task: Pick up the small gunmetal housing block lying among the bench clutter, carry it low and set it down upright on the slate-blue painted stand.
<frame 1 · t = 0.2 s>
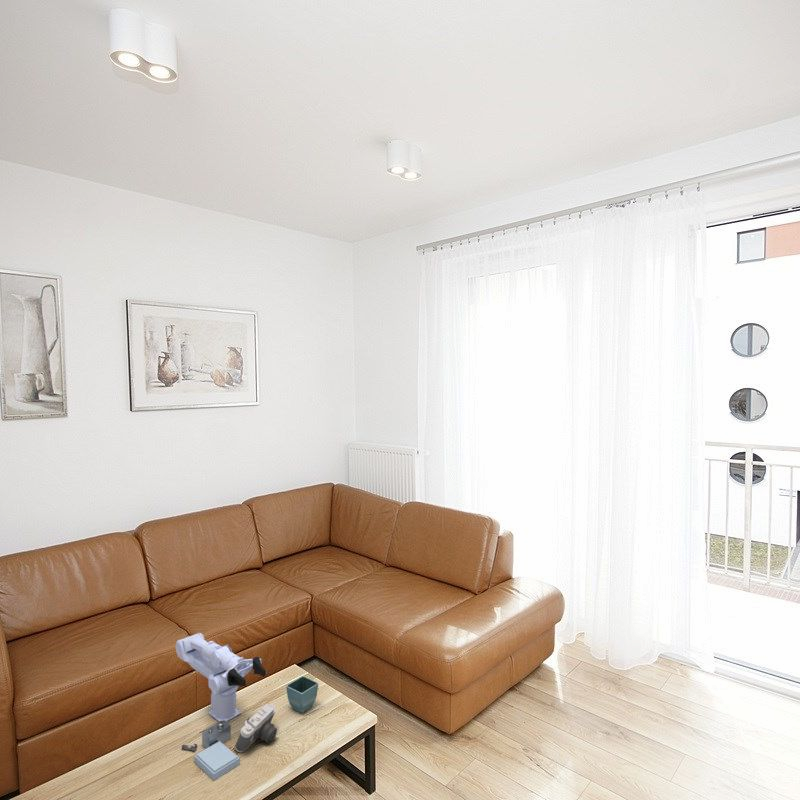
hand: (254, 678, 174), 21 cm above the table, tool horizontal, fingers open, 7 cm apart
stand: (216, 763, 163), on the table
bolt a: (188, 749, 169), on the table
camera: (260, 741, 174), on the table
housing: (216, 742, 173), on the table
flower pot: (302, 708, 192), on the table
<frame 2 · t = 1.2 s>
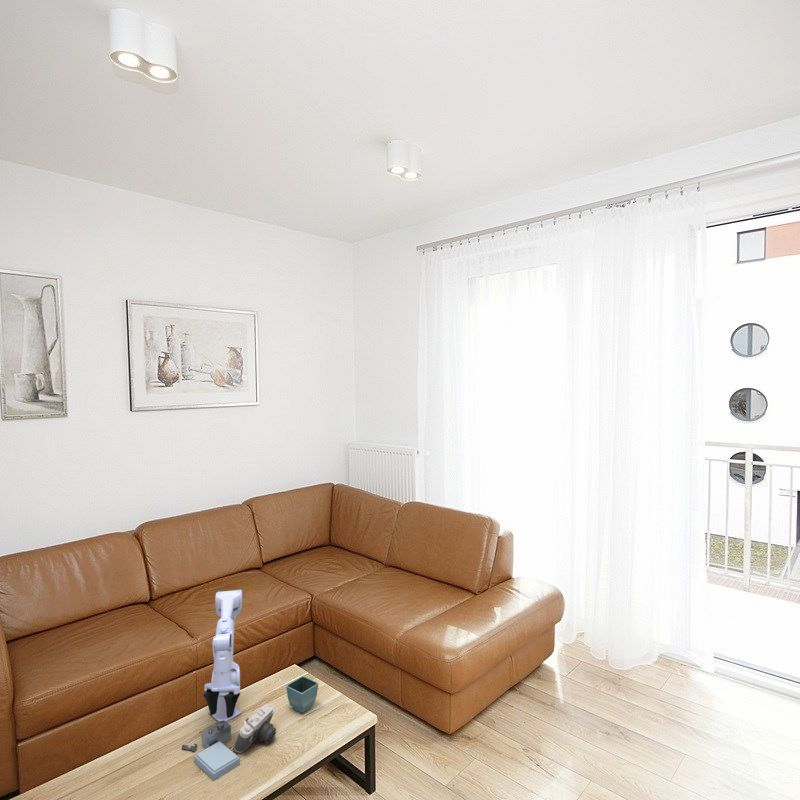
hand: (221, 715, 171), 10 cm above the table, tool pointing down, fingers open, 7 cm apart
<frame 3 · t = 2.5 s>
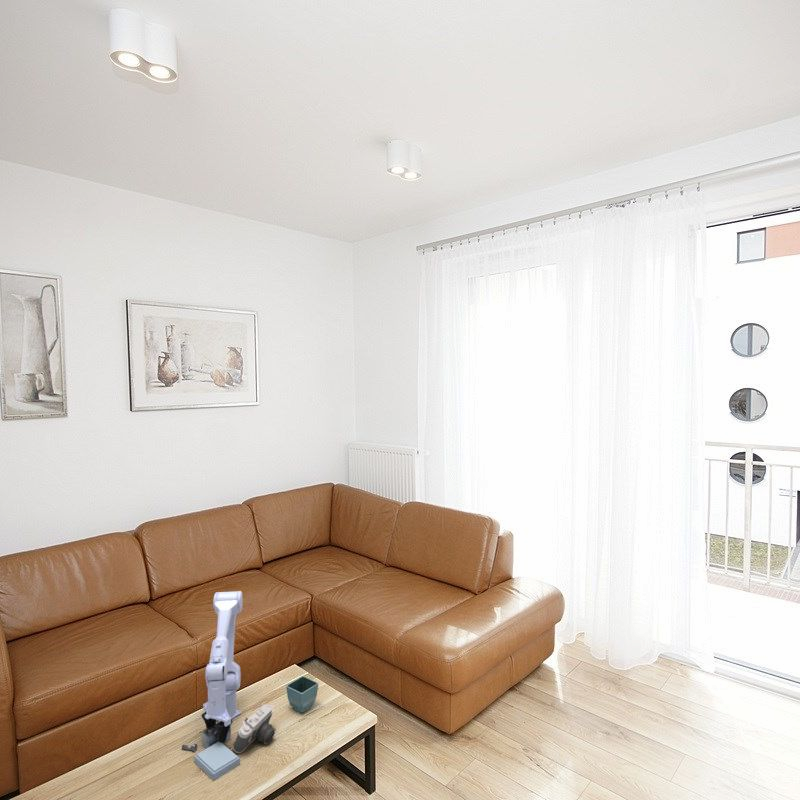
hand: (216, 737, 172), 2 cm above the table, tool pointing down, fingers open, 6 cm apart
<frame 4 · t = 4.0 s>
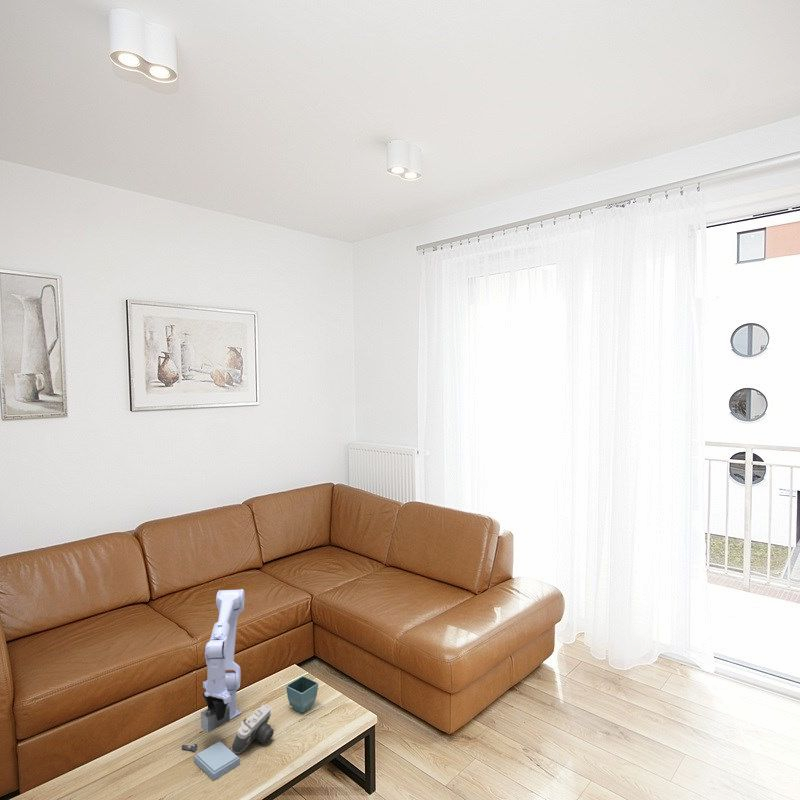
hand: (216, 715, 172), 9 cm above the table, tool pointing down, fingers closed on housing, 4 cm apart
housing: (215, 724, 172), point 7 cm above the table, touching gripper
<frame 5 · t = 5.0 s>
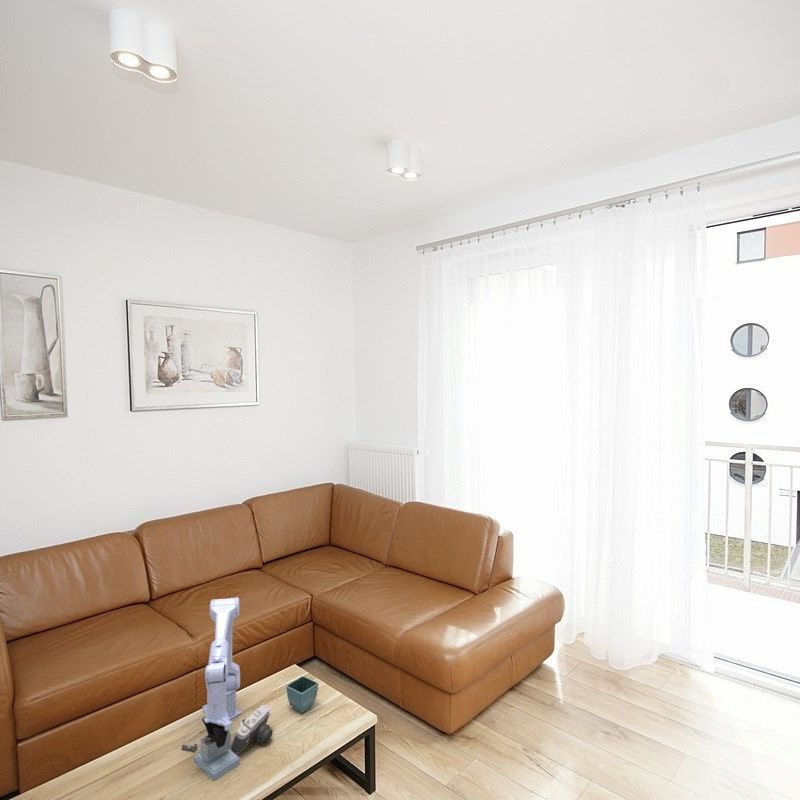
hand: (216, 742, 163), 7 cm above the table, tool pointing down, fingers closed on housing, 4 cm apart
housing: (215, 751, 163), point 4 cm above the table, touching gripper
when the fingers open (5 cm above the table, at t = 5.7 s): housing stays where it is, resting on stand.
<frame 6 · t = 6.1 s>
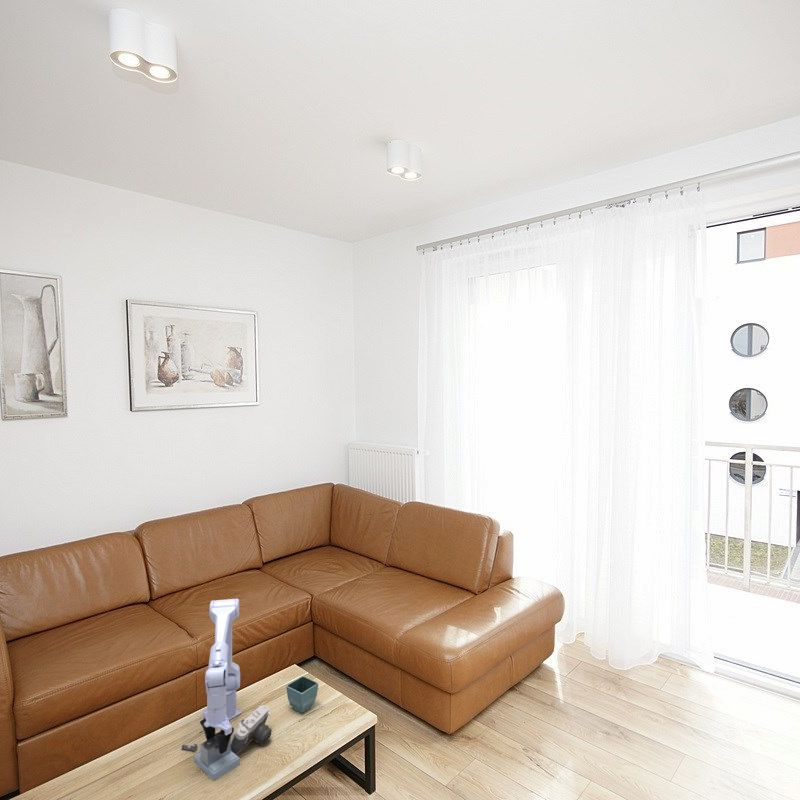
hand: (216, 746, 163), 5 cm above the table, tool pointing down, fingers open, 7 cm apart
housing: (215, 756, 163), point 2 cm above the table, touching stand
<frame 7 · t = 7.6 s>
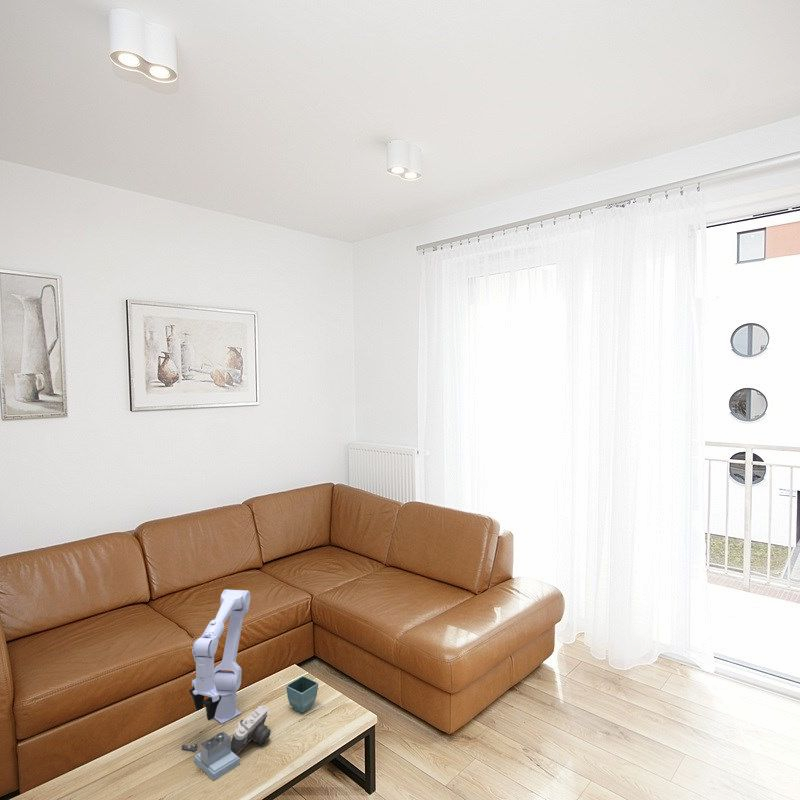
hand: (205, 713, 172), 10 cm above the table, tool pointing down, fingers open, 7 cm apart
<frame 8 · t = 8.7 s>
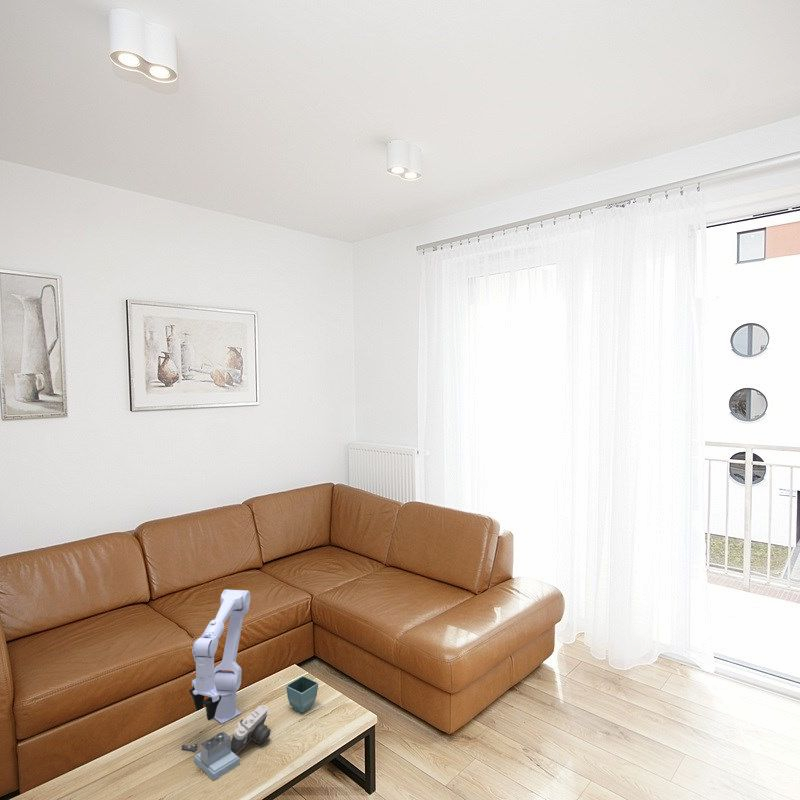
hand: (205, 713, 172), 10 cm above the table, tool pointing down, fingers open, 7 cm apart
at the end: housing inside the target area on the stand (0.4 cm from its centre), point 2.5 cm above the stand's base; housing tilted 0°; the gripper is holding nothing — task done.
